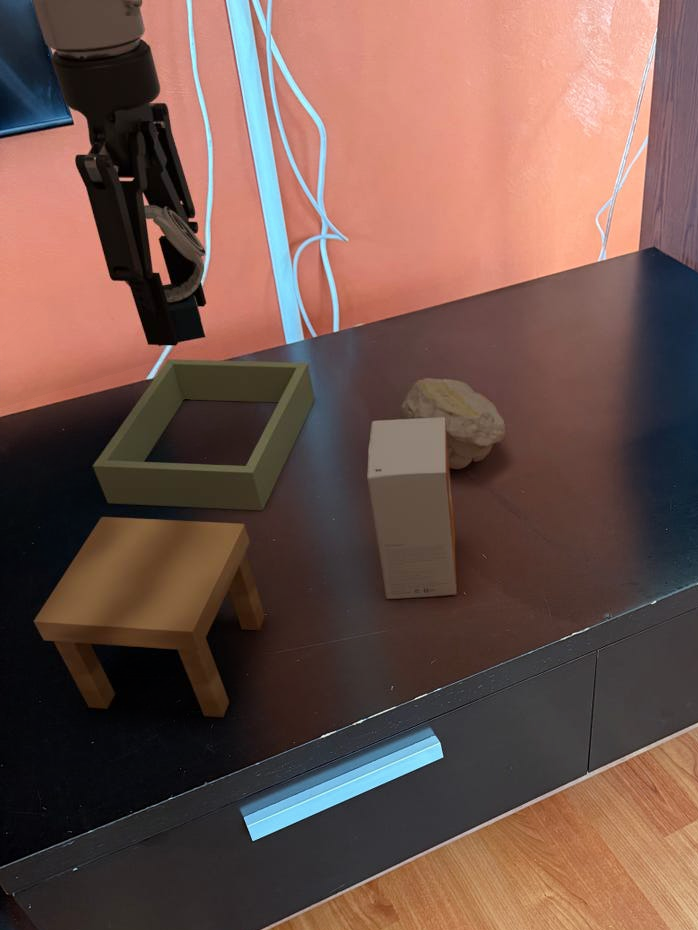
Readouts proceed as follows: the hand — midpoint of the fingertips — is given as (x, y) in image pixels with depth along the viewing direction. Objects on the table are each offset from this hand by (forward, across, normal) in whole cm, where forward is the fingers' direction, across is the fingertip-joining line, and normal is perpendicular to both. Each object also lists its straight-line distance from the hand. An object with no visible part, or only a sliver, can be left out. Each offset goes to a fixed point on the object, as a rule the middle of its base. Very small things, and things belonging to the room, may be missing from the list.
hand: (178, 322), depth 90 cm
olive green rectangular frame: (+14, 0, 0) cm, 14 cm away
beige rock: (+14, +1, -25) cm, 29 cm away
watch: (+1, 0, 0) cm, 1 cm away
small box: (+14, -17, -25) cm, 34 cm away
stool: (+14, -30, -7) cm, 34 cm away
